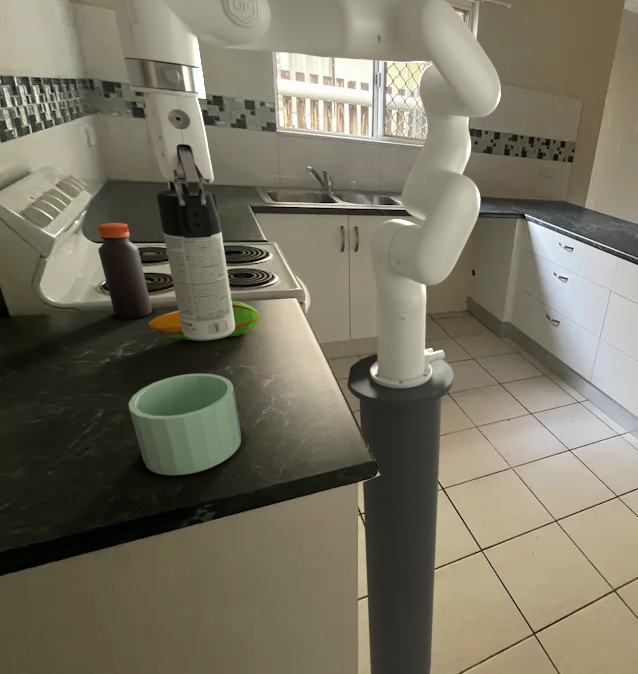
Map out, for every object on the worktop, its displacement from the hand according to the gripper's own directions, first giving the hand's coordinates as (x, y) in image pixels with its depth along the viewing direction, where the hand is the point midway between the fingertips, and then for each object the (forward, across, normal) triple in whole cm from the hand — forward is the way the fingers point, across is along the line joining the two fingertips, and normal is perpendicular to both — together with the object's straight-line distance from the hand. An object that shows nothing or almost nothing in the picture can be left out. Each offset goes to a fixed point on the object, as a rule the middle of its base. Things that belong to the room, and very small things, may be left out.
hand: (192, 230), depth 64 cm
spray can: (+15, 0, 0) cm, 15 cm away
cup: (+30, -6, +5) cm, 31 cm away
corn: (+30, +34, -3) cm, 45 cm away
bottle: (+30, +54, +8) cm, 62 cm away
